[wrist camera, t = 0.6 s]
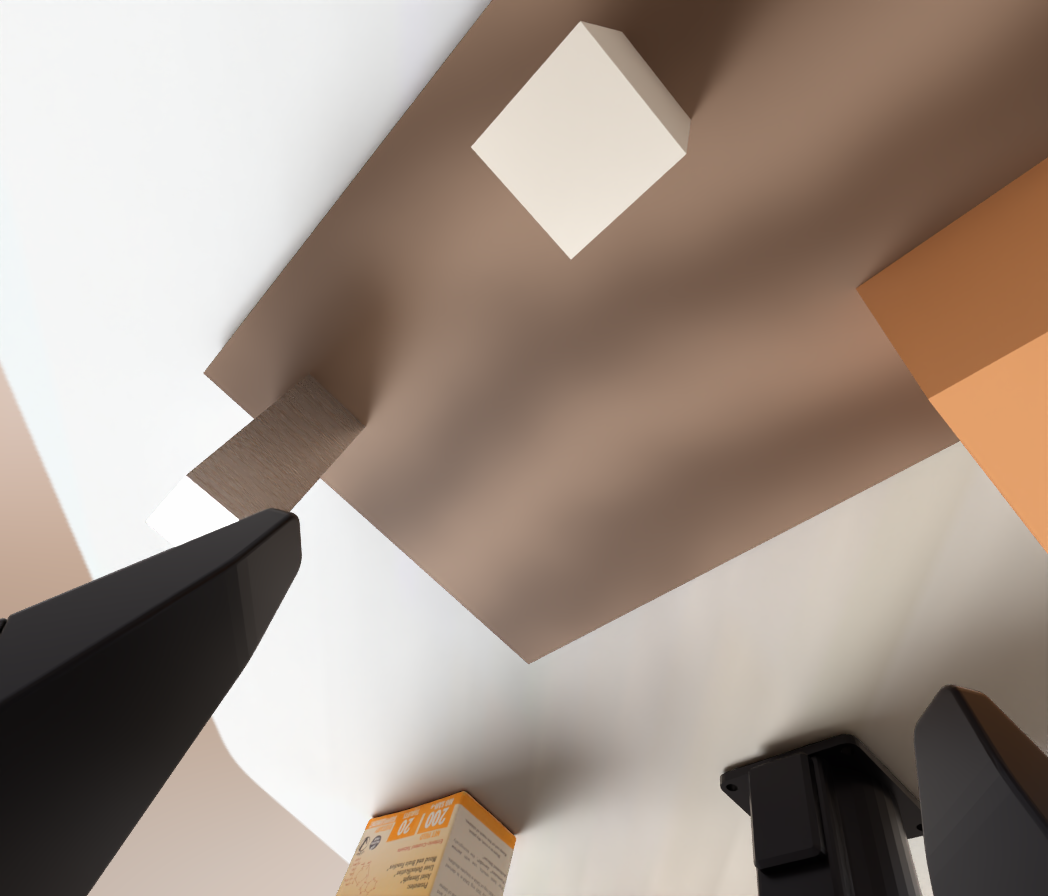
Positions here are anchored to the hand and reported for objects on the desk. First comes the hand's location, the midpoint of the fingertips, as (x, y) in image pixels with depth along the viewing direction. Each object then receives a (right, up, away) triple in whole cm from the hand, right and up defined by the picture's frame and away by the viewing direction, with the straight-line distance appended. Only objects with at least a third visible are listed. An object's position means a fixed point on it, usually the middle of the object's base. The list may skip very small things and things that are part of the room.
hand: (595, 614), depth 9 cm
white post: (+2, +11, +8) cm, 14 cm away
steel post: (-8, +4, +15) cm, 18 cm away
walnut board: (+2, +6, +11) cm, 13 cm away
